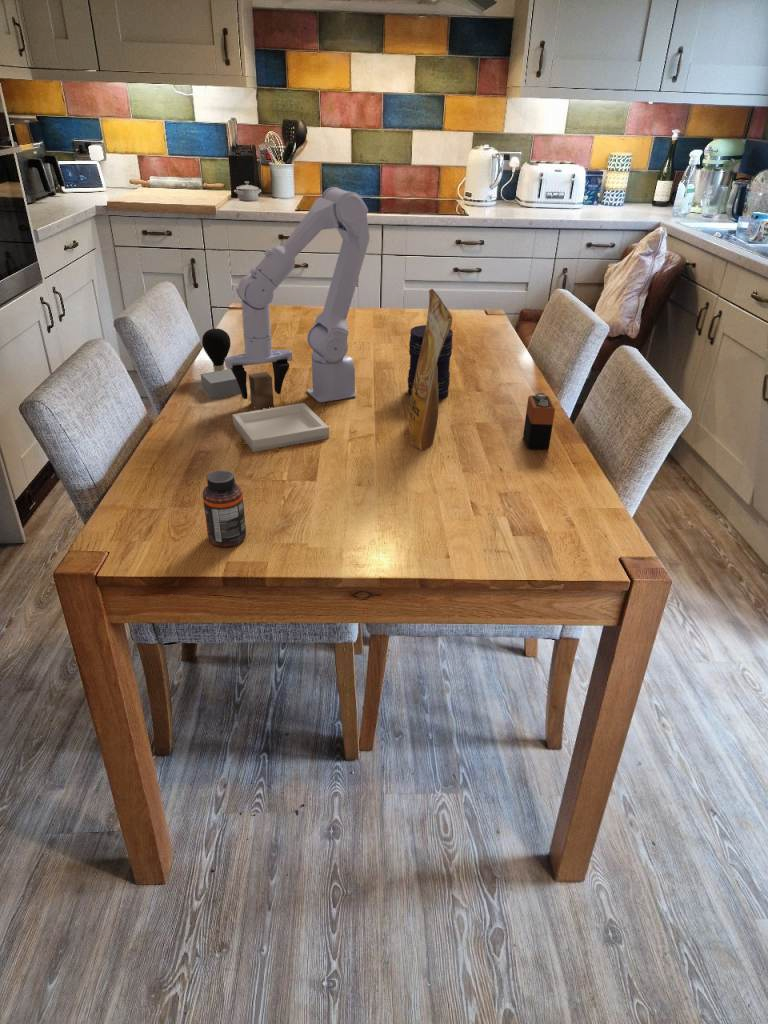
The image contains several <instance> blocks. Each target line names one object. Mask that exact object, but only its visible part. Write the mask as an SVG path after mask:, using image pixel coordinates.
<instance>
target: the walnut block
mask: <svg viewBox="0 0 768 1024" xmlns="http://www.w3.org/2000/svg"><path fill="white" fill-rule="evenodd" d="M248 379H249V392H250V404H251V406H252V407H253V406H254V407H255V408H254V407H253V408H254V409H255V411H257V410H259V409H262V410H263V408H268V409H269V407H270V408H271V407H274V408H275V404H274V386H273V385H274V384H273V377H272V376H271V375H270V374H269V373H268V372H267V371H263V372H255V373H250V374H249V373H248Z"/></svg>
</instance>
